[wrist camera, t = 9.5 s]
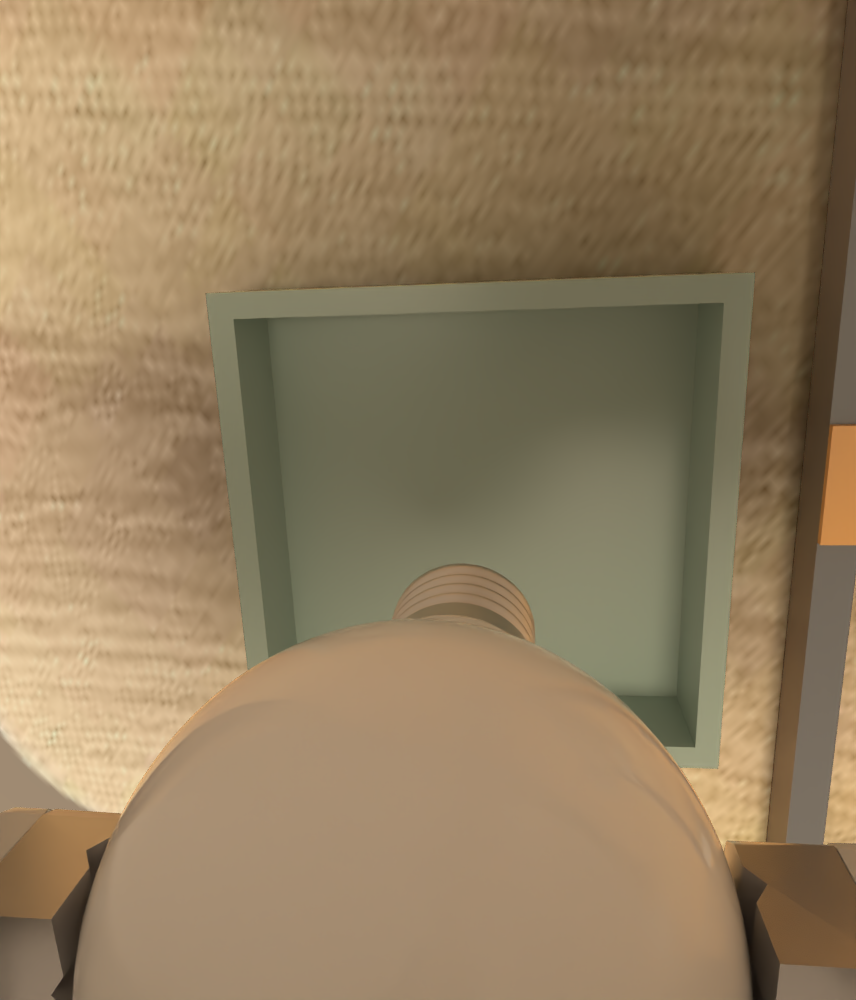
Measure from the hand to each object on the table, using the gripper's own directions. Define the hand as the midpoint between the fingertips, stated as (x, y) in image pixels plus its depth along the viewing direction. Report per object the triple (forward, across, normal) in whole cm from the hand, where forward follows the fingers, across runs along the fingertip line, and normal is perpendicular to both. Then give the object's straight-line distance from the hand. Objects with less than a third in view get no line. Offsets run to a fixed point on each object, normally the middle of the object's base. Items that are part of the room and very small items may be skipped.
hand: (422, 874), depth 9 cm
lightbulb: (+7, 0, 0) cm, 7 cm away
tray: (+14, 0, 0) cm, 14 cm away
